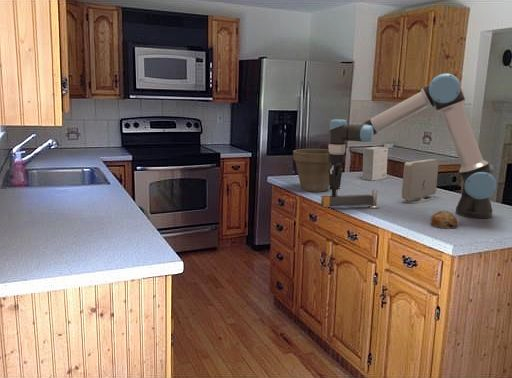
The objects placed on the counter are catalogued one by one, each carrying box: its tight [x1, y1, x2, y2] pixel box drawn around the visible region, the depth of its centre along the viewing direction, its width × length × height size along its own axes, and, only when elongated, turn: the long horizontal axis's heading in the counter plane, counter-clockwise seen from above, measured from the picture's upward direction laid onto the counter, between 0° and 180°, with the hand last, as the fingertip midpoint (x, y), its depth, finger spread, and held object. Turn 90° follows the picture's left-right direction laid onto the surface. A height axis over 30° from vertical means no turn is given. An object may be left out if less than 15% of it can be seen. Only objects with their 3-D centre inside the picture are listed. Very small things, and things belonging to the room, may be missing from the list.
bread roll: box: [430, 210, 458, 230], centre depth 192 cm, size 10×10×8 cm
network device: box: [401, 158, 440, 204], centre depth 238 cm, size 26×9×20 cm, turn 129°
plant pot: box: [292, 148, 331, 193], centre depth 259 cm, size 25×25×22 cm
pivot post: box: [366, 189, 381, 210], centre depth 221 cm, size 6×6×8 cm
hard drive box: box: [361, 146, 389, 182], centre depth 295 cm, size 16×8×20 cm, turn 130°
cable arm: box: [320, 194, 372, 208], centre depth 218 cm, size 24×3×5 cm, turn 103°
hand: (334, 203), depth 220 cm, fingers closed
